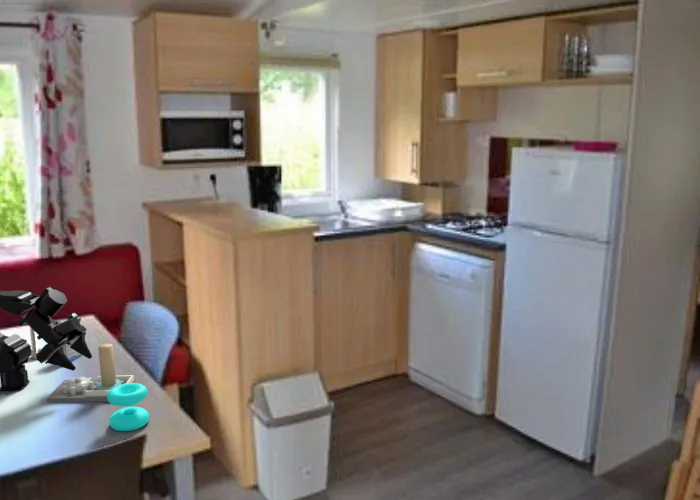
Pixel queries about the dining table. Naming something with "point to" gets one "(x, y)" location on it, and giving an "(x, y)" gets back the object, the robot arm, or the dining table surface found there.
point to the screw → (34, 344)
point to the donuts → (130, 415)
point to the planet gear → (107, 369)
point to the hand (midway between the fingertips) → (83, 363)
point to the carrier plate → (83, 390)
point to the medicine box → (70, 352)
